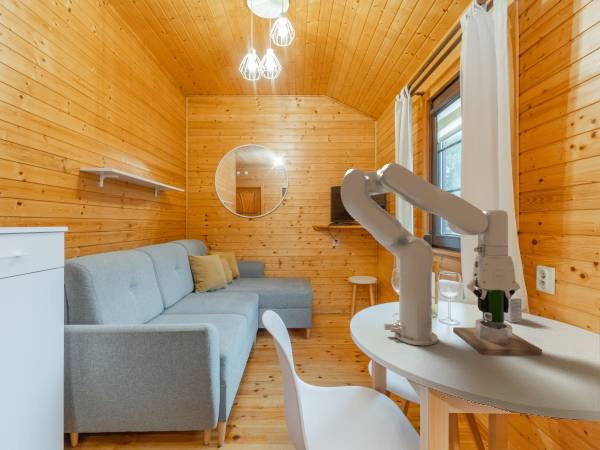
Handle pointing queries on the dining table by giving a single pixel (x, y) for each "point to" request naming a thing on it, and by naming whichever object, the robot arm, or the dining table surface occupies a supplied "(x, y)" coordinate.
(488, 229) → the robot arm
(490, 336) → the can sleeve
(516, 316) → the medicine box
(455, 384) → the dining table surface
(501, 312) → the beer can
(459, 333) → the walnut stand
